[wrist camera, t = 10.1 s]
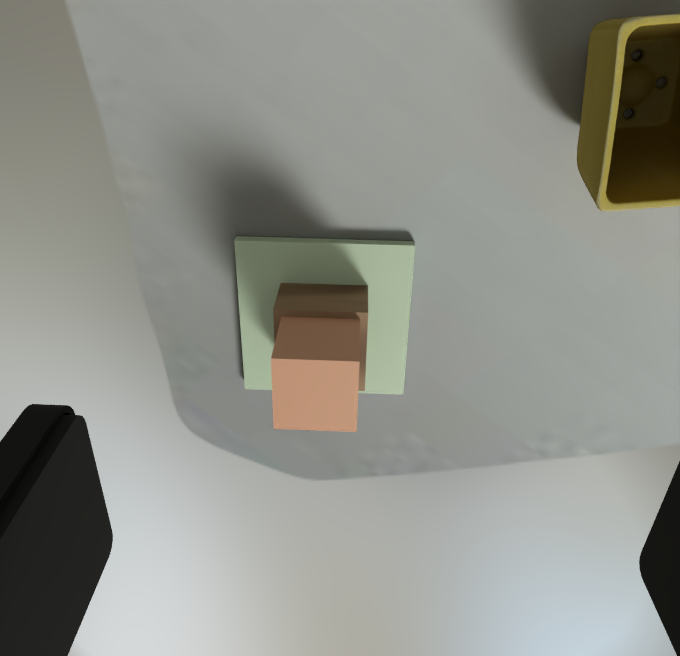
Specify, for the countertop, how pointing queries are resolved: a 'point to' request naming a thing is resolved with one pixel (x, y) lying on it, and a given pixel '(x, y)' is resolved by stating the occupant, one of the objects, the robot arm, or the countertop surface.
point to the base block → (326, 308)
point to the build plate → (327, 268)
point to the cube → (316, 374)
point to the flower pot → (643, 126)
